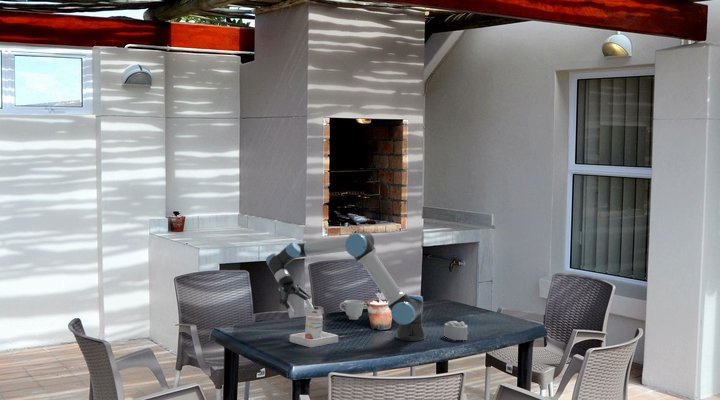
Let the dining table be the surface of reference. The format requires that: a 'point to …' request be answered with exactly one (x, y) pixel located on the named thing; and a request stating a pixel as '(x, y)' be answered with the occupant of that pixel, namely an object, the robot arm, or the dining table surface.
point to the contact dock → (326, 339)
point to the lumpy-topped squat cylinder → (455, 330)
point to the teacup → (353, 308)
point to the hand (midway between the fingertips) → (302, 311)
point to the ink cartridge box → (313, 324)
